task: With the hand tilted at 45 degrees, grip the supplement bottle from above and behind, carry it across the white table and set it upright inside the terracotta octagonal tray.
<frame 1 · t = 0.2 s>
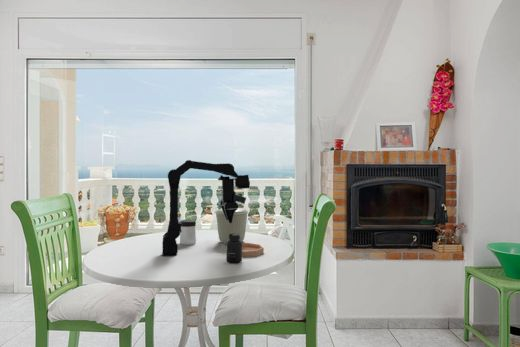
hand: (229, 221, 177), 14 cm above the table, tool pointing down, fingers open, 9 cm apart
supplement bottle: (234, 262, 158), on the table
jar: (188, 243, 195), on the table
canister: (231, 242, 197), on the table
terracotta octagonal tray: (244, 252, 175), on the table
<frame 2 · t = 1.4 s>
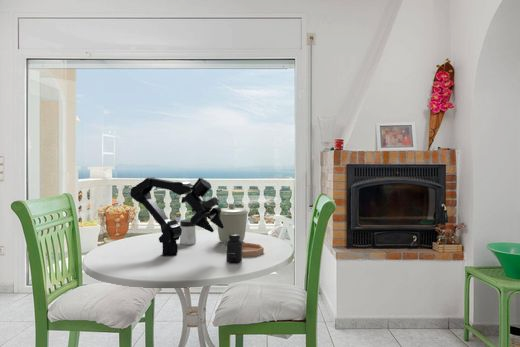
hand: (218, 229, 161), 13 cm above the table, tool tilted 45°, fingers open, 9 cm apart
nothing on the table moved.
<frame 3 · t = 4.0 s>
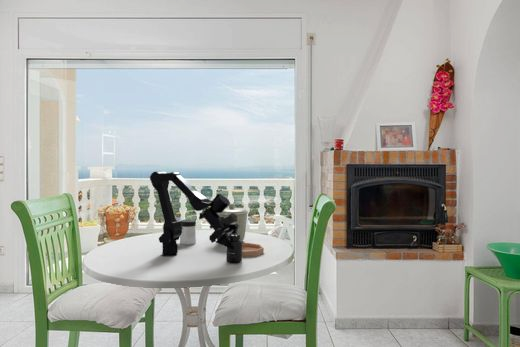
hand: (237, 246, 158), 7 cm above the table, tool tilted 45°, fingers closed on supplement bottle, 7 cm apart
supplement bottle: (234, 262, 158), on the table, touching gripper
everything else where it was.
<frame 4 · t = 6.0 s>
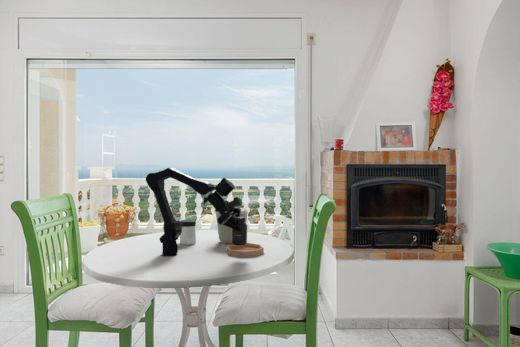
hand: (242, 229, 162), 13 cm above the table, tool tilted 45°, fingers closed on supplement bottle, 7 cm apart
supplement bottle: (239, 244, 163), point 6 cm above the table, touching gripper
everything else where it was.
when the fingers open (9 cm above the table, at t = 8.4 s): supplement bottle drops 1 cm, resting on terracotta octagonal tray.
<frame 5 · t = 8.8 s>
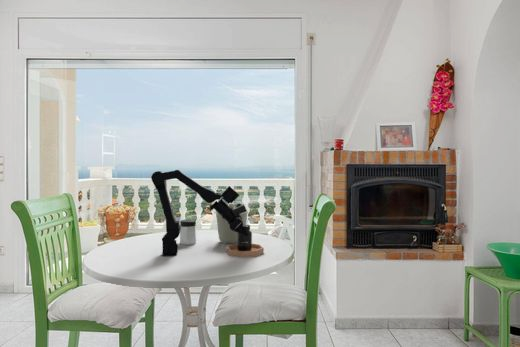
hand: (247, 233, 175), 9 cm above the table, tool tilted 45°, fingers open, 9 cm apart
supplement bottle: (244, 250, 175), point 1 cm above the table, touching terracotta octagonal tray
everything else where it was.
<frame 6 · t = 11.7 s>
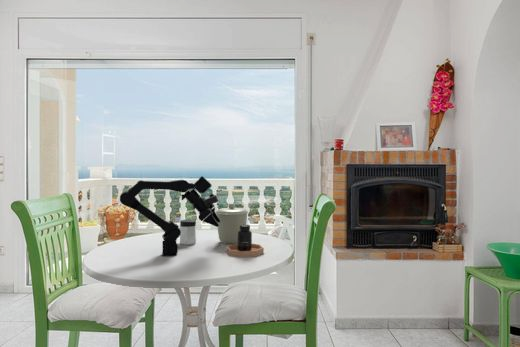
hand: (219, 224, 175), 13 cm above the table, tool tilted 45°, fingers open, 9 cm apart
nothing on the table moved.
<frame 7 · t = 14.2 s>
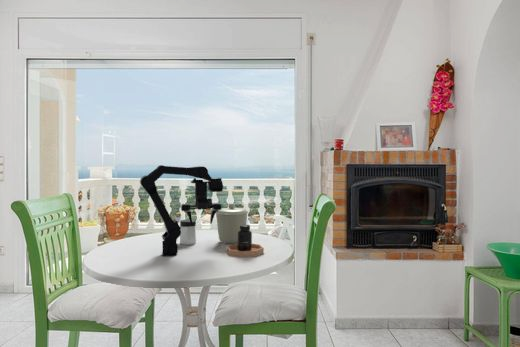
hand: (201, 224, 176), 13 cm above the table, tool pointing down, fingers open, 9 cm apart
nothing on the table moved.
at the end: supplement bottle inside the target area on the terracotta octagonal tray (0.2 cm from its centre), point 0.8 cm above the terracotta octagonal tray's base; supplement bottle tilted 1°; the gripper is holding nothing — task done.
